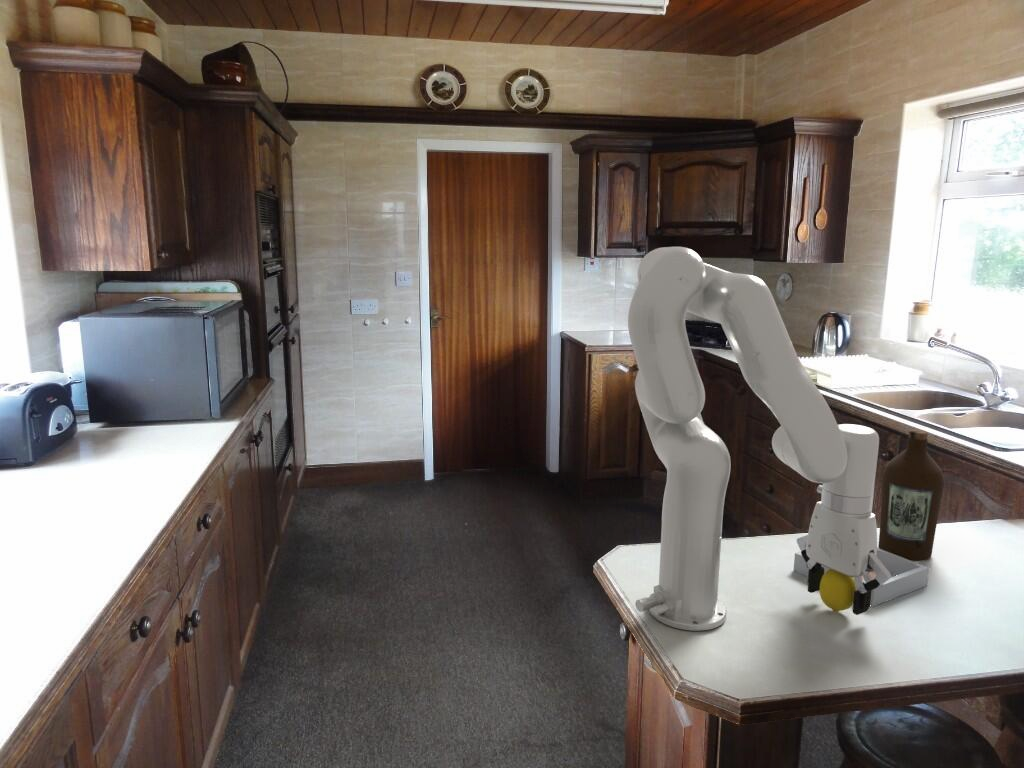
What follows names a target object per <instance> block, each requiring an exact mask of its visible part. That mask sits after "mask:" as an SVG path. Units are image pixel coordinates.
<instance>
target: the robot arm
mask: <svg viewBox="0 0 1024 768" xmlns="http://www.w3.org/2000/svg"><path fill="white" fill-rule="evenodd" d="M637 267H638V269H637V280H638V285H637V286H636V289H635V291H634V293H633V296H632V298H631V302H630V305H629V309H628V314H627V315H628V316H627V327H628V334H629V339H630V343H631V347H632V350H633V353H634V358H635V361H636V365H637V369H638V372H637V374H636V375H635V381H634V389H635V395H636V400H637V402H638V405H639V409H640V411H641V413H642V414H641V415H642V417H643V420H644V423H645V426H646V430H647V432H648V435H649V438H650V441H651V444H652V446H653V447H652V448H653V449H654V451H655V453H656V455H657V457H658V459H659V460H660V461H661V463H662V464H663V465H664V467H665V469H666V472H667V474H666V483H665V487H664V494H663V500H662V501H663V502H662V510H661V532H660V533H661V535H660V550H659V551H660V555H659V573H658V574H659V575H658V584H657V585H653V593H651V594H650V595H649V596H648V597H643V598H639V599H637V600H636V601H635V603H634V605H635V608H636V611H638V612H639V613H641V612H642V613H643V612H646V611H649V613H650V614H651V615H652V617H653V618H655V619H656V620H657V621H659V622H661V623H662V624H664V625H666V626H669V627H672V628H675V629H680V630H684V631H690V632H691V631H695V632H698V631H708V630H709V631H710V630H714V629H717V628H718V627H720V626H721V625H723V624H724V622H725V621H726V619H727V608H726V606H725V604H724V603H723V602H721V601H720V599H718V594H719V592H718V591H719V582H720V581H719V579H720V565H721V563H720V562H721V551H722V535H723V534H722V533H723V518H724V517H723V516H724V506H725V498H726V493H727V488H728V483H729V481H730V476H731V475H730V474H731V467H732V466H731V465H732V464H731V456H730V455H731V454H730V452H729V450H728V447H727V446H726V443H725V442H724V441H723V440H722V438H721V437H720V436H719V435H718V434H717V433H715V431H713V430H712V429H711V428H710V427H708V426H707V425H706V424H705V421H704V420H703V417H702V414H701V412H702V411H703V409H704V406H705V402H706V391H705V387H704V382H703V381H702V378H701V374H700V372H699V369H698V367H697V366H698V365H697V364H696V360H695V358H694V357H695V356H694V354H693V351H692V349H691V345H690V340H689V337H688V332H687V328H686V327H687V326H686V317H687V316H686V315H687V313H689V314H692V315H695V316H698V317H700V318H702V319H705V320H709V321H712V322H714V323H717V324H720V325H721V327H722V330H723V332H724V334H725V336H726V338H727V341H728V342H729V346H730V347H731V348H730V349H731V350H732V352H733V354H734V358H735V359H736V362H737V365H738V367H739V368H740V371H741V374H742V376H743V378H744V381H745V382H746V383H747V384H748V386H749V387H750V389H751V390H752V392H753V393H754V394H755V396H757V398H759V399H760V400H761V401H762V402H763V403H764V404H765V405H766V406H767V408H768V409H769V410H770V411H771V413H772V414H773V415H774V416H775V419H777V421H778V423H779V425H780V426H779V427H778V428H777V429H776V430H775V431H774V433H773V436H772V438H771V445H772V446H771V447H772V450H773V453H774V454H775V456H776V457H777V458H778V459H779V460H780V461H781V463H784V464H785V465H787V466H788V467H789V468H791V469H792V470H794V471H795V472H797V474H800V476H802V477H803V478H804V479H806V480H807V481H810V482H812V483H817V484H819V485H817V488H816V492H817V493H818V494H821V498H820V500H821V501H820V500H819V501H817V502H816V504H815V506H814V509H813V513H812V515H811V519H810V523H809V527H808V532H807V533H808V534H806V535H803V536H801V537H798V538H796V544H797V545H798V548H799V550H800V551H801V555H802V556H803V558H804V560H805V562H806V568H807V569H809V573H808V577H807V592H808V593H811V594H812V593H815V592H820V582H821V579H822V577H823V575H824V567H822V566H821V565H824V566H826V567H828V568H830V569H833V570H835V571H837V572H840V573H842V574H844V575H847V576H849V577H854V580H855V582H856V585H857V587H858V590H856V591H855V592H854V601H853V604H852V613H853V614H854V615H855V616H859V615H861V614H863V613H865V612H867V611H868V610H870V607H871V606H870V601H871V591H872V590H874V589H876V588H878V587H880V586H882V585H883V584H884V583H885V582H886V581H887V580H889V579H890V578H891V577H893V576H892V575H893V574H891V573H890V572H889V571H888V570H887V568H886V567H885V566H884V565H883V564H882V562H881V561H880V560H879V559H878V558H877V548H878V531H877V530H878V529H877V528H878V527H877V526H878V525H877V519H876V514H874V513H873V506H874V505H873V504H874V495H875V486H876V485H875V484H876V475H877V467H878V466H877V465H878V456H879V449H880V448H879V447H880V436H879V433H878V432H877V431H876V430H875V429H874V428H871V427H868V426H865V425H862V424H853V423H852V424H851V423H842V424H840V423H839V424H838V423H837V420H836V417H835V415H834V413H833V411H832V410H831V408H830V406H829V404H828V402H827V401H826V399H825V398H824V396H823V394H822V393H821V391H820V390H819V389H818V386H816V383H814V381H813V379H812V377H811V376H810V374H809V372H808V371H807V370H806V368H805V367H804V365H803V364H802V362H801V361H800V358H799V357H798V355H797V352H796V350H795V347H794V344H793V342H792V340H791V338H790V335H789V333H788V332H789V331H788V330H787V327H786V325H785V323H784V321H783V318H782V316H781V313H780V311H779V308H778V307H777V303H776V300H775V299H774V296H773V294H772V292H771V290H770V288H769V287H768V285H767V283H766V282H765V281H764V280H762V279H761V278H759V277H758V276H755V275H752V274H747V273H746V274H745V273H736V272H730V271H727V270H724V269H722V268H719V267H716V266H713V265H711V264H707V263H706V262H704V261H703V259H702V258H701V256H700V255H699V254H698V253H697V252H696V251H694V250H693V249H691V248H688V247H684V246H667V247H666V246H664V247H658V248H654V249H653V250H651V251H649V252H648V253H647V254H645V255H644V257H643V258H642V259H641V260H640V263H639V265H638V266H637ZM870 572H875V573H876V577H875V578H874V579H873V578H872V576H871V573H870ZM862 575H863V578H864V580H865V582H864V580H863V578H862Z"/></svg>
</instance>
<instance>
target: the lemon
mask: <svg viewBox="0 0 1024 768" xmlns="http://www.w3.org/2000/svg"><path fill="white" fill-rule="evenodd" d="M855 591H856V584H855V581H854V578H853V577H849V576H847V575H844V574H842V573H840V572H837V571H835V570H833V569H830V570H828V571H826V572H825V573H824V575H823V577H822V579H821V582H820V590H819V595H820V599H821V600H822V603H824V605H825V606H827V608H828V609H831V611H833V612H834V613H839V612H841V611H845V610H847V609H848V610H849V608H851V607H852V606H853V601H854V592H855Z"/></svg>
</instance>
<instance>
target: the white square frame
mask: <svg viewBox="0 0 1024 768" xmlns="http://www.w3.org/2000/svg"><path fill="white" fill-rule="evenodd" d="M877 558H878V559H879V560H880V561H881V562H882V564H883V565H884V566H885V567H886V568H887V570H888V571H889V572H890V573H892V574H891V575H893V574H894V575H893V576H891V578H890V579H889V580H887V581H886V582H885V583H884V584H883V585H882V586H880V587H878V588H876V589H874V590H872V591H871V601H870V605H871V606H874V607H875V605H876V606H878V605H877V604H879V605H881V604H880V603H882V602H884V603H886V602H885V601H887V600H889V601H891V600H890V599H892V600H894V599H896V598H895V597H897V598H899V597H898V596H900V595H902V596H904V595H903V594H905V595H907V594H909V592H910V593H912V592H911V591H913V592H915V591H917V589H918V590H920V589H922V587H923V588H925V587H927V586H928V580H929V574H930V573H929V572H930V567H928V566H925V565H924V564H920V563H919V562H916V561H912V560H908V559H905V558H902V557H900V556H897V555H895V554H892V553H889V552H887V551H884V550H882V549H880V548H879V547H877ZM793 561H794V562H793V572H797V573H798V572H799V573H798V574H800V573H801V575H802V574H803V575H802V576H805V577H807V576H808V573H809V569H807V568H806V562H805V560H804V558H803V556H802V555H801V550H800V551H797V552H795V553H794V559H793ZM821 566H822V567H824V573H825V572H826V571H828V570H830V568H828V567H826V566H824V565H821ZM870 573H871V576H872V578H873V579H874V578H875V577H876V572H875V571H873V572H870ZM895 575H897V576H895ZM853 578H854V577H853ZM862 578H863V575H862ZM863 580H864V578H863ZM854 581H855V580H854ZM864 582H865V580H864ZM855 584H856V582H855ZM856 590H858V587H857V585H856ZM914 590H915V591H914ZM906 593H907V594H906ZM900 597H901V596H900ZM893 598H894V599H893ZM887 602H888V601H887ZM882 604H883V603H882ZM871 606H870V607H871Z"/></svg>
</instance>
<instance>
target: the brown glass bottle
mask: <svg viewBox="0 0 1024 768" xmlns="http://www.w3.org/2000/svg"><path fill="white" fill-rule="evenodd" d="M908 435H909V436H908V437H907V443H906V448H905V449H904V450H903V451H902V452H900V453H899V454H897V455H896V456H895V457H893V458H892V459H891V460H890V461H888V462H887V464H886V466H885V467H884V470H883V473H882V483H881V504H880V505H881V506H880V520H879V535H878V548H879V549H882V550H884V551H887V552H889V553H892V554H895V555H897V556H900V557H902V558H905V559H908V560H910V561H913V562H916V561H917V562H923V561H927V560H929V559H930V558H932V554H933V548H934V544H935V543H934V541H935V537H936V536H935V535H936V530H937V524H938V520H939V519H938V518H939V513H940V507H941V504H942V498H943V493H944V488H945V477H944V473H943V471H942V469H941V467H940V466H939V465H938V463H937V462H936V461H935V460H934V459H933V457H931V456H930V454H929V453H928V451H927V447H928V441H929V440H928V435H929V433H928V432H927V431H926V430H923V429H910V430H909V431H908Z"/></svg>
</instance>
